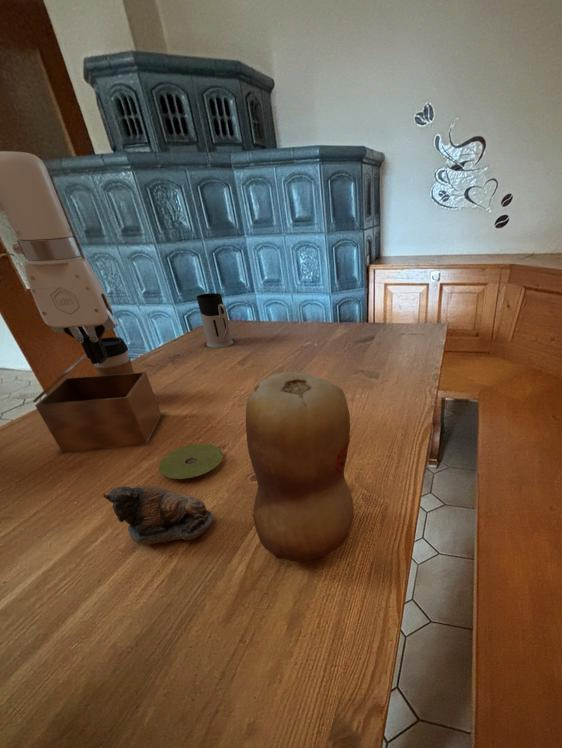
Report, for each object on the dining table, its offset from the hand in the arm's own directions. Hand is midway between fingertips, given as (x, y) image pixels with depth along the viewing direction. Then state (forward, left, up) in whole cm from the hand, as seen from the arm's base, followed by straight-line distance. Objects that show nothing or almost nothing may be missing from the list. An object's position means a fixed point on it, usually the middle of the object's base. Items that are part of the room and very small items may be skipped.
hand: (100, 361), depth 74 cm
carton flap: (-8, 0, -2) cm, 8 cm away
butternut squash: (+36, -40, -16) cm, 56 cm away
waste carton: (-3, 0, -16) cm, 16 cm away
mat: (+16, -17, -16) cm, 28 cm away
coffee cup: (-5, +16, -16) cm, 23 cm away
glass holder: (+14, +55, -16) cm, 59 cm away
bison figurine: (+16, -35, -16) cm, 42 cm away
